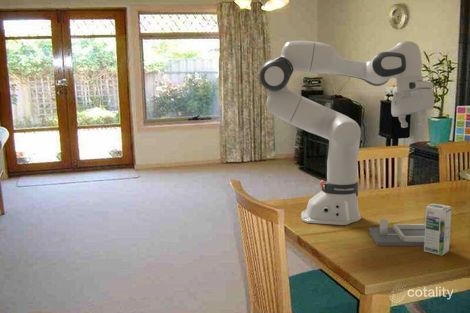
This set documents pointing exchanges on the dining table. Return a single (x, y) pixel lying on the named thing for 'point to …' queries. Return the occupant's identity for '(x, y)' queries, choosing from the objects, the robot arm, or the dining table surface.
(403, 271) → the dining table surface
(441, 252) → the syrup box
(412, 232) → the grey holder tray
